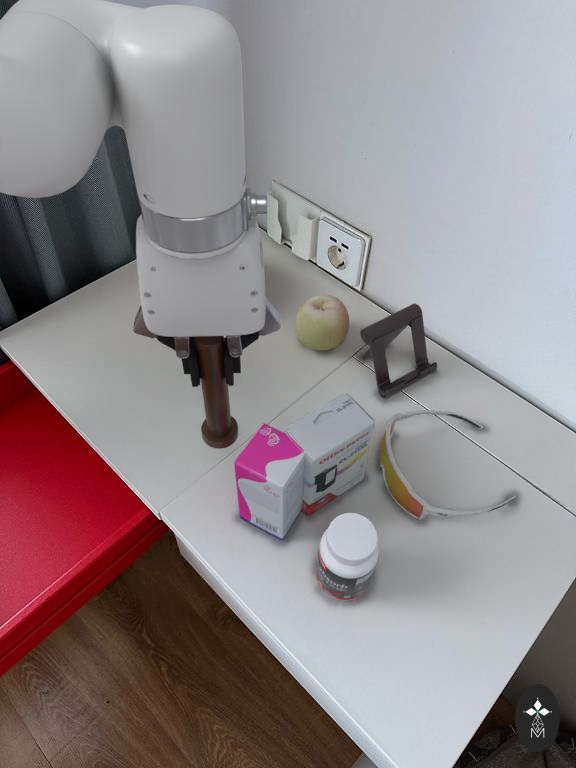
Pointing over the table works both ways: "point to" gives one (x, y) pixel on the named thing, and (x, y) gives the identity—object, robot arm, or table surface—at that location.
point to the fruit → (322, 322)
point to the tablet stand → (383, 335)
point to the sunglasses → (398, 483)
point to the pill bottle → (347, 556)
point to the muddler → (215, 393)
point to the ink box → (332, 449)
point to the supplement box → (270, 481)
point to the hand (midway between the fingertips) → (213, 374)
